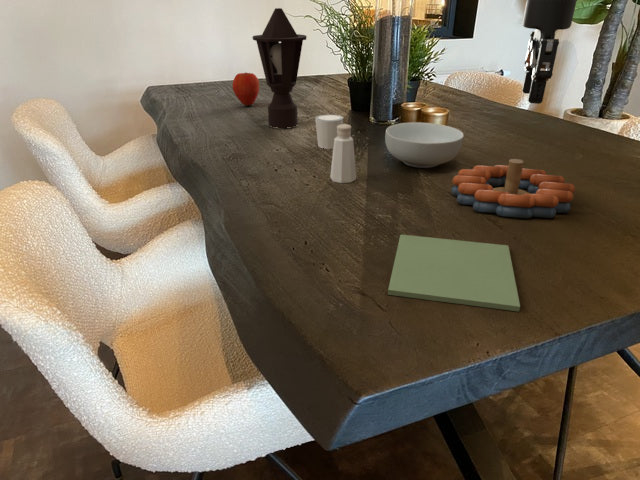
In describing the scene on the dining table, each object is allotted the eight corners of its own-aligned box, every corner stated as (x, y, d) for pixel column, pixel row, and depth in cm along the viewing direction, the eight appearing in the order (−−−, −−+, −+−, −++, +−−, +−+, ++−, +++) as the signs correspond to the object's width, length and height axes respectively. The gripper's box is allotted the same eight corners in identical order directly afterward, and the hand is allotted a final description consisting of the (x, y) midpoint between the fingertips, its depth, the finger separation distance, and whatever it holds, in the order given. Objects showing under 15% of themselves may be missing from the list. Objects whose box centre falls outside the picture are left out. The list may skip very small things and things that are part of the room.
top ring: (564, 178, 94) (566, 168, 93) (584, 214, 79) (587, 203, 78) (452, 170, 98) (453, 160, 98) (451, 202, 84) (452, 192, 83)
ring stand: (529, 193, 92) (537, 155, 89) (535, 210, 86) (544, 170, 82) (485, 190, 94) (491, 152, 91) (487, 206, 87) (494, 166, 84)
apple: (232, 109, 157) (229, 74, 152) (237, 103, 164) (234, 69, 159) (258, 109, 156) (256, 74, 151) (262, 103, 164) (260, 69, 159)
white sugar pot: (331, 140, 125) (331, 112, 122) (348, 146, 120) (349, 117, 117) (309, 144, 121) (309, 116, 118) (326, 151, 116) (326, 122, 113)
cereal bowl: (439, 181, 98) (443, 147, 95) (369, 165, 107) (370, 133, 104) (472, 159, 110) (476, 128, 107) (406, 146, 119) (408, 117, 116)
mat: (507, 250, 73) (508, 245, 73) (519, 311, 59) (520, 306, 59) (400, 238, 77) (400, 234, 76) (387, 294, 63) (388, 289, 62)
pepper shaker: (327, 182, 98) (328, 128, 93) (332, 173, 103) (332, 121, 98) (354, 184, 97) (356, 129, 92) (357, 175, 102) (359, 122, 97)
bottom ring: (562, 188, 95) (564, 178, 94) (581, 225, 80) (584, 214, 79) (451, 179, 99) (452, 170, 98) (450, 213, 85) (451, 202, 84)
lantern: (303, 133, 131) (300, 9, 117) (250, 131, 133) (241, 9, 119) (313, 120, 143) (312, 7, 129) (265, 118, 146) (258, 7, 132)
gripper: (587, -2, 72) (561, 108, 80) (568, -5, 85) (547, 91, 92) (533, -3, 74) (513, 105, 82) (522, -6, 86) (505, 89, 94)
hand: (531, 97), depth 87 cm, fingers open, 8 cm apart
